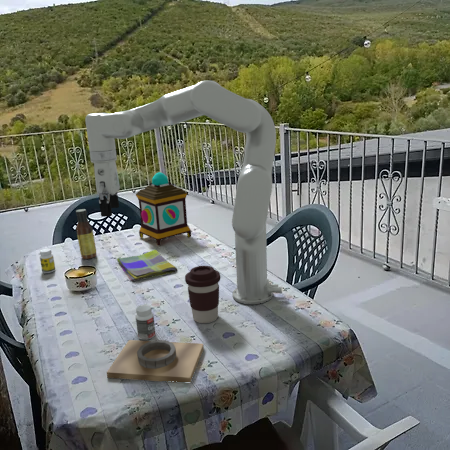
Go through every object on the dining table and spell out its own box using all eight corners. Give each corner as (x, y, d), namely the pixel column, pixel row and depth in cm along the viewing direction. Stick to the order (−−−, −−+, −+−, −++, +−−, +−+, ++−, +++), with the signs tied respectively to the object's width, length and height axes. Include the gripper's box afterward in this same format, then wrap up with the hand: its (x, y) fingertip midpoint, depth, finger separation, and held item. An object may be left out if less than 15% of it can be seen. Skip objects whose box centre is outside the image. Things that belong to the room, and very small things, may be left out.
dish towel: (158, 253, 184) (157, 247, 183) (179, 273, 163) (178, 266, 162) (116, 262, 177) (115, 256, 176) (132, 284, 156) (131, 277, 155)
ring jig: (203, 348, 114) (202, 336, 113) (190, 383, 101) (189, 370, 100) (129, 344, 118) (128, 333, 117) (107, 377, 105) (105, 364, 104)
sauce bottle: (100, 255, 184) (93, 209, 178) (88, 260, 179) (81, 213, 173) (89, 253, 188) (82, 207, 182) (77, 258, 183) (70, 211, 177)
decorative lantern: (172, 228, 216) (167, 166, 207) (196, 237, 201) (191, 171, 192) (135, 238, 204) (127, 173, 196) (157, 248, 189) (150, 178, 180)
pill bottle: (152, 340, 119) (148, 312, 117) (135, 339, 120) (131, 311, 118) (158, 331, 124) (155, 304, 121) (141, 330, 125) (138, 303, 122)
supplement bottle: (39, 272, 170) (35, 251, 167) (48, 267, 174) (45, 247, 171) (49, 273, 168) (45, 252, 166) (58, 269, 172) (54, 248, 170)
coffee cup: (210, 329, 123) (206, 279, 119) (181, 321, 128) (177, 273, 124) (229, 314, 131) (226, 266, 127) (201, 306, 136) (198, 261, 132)
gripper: (109, 159, 124) (116, 219, 129) (122, 151, 141) (128, 204, 146) (82, 161, 124) (90, 220, 129) (98, 152, 141) (105, 205, 146)
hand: (110, 211), depth 137 cm, fingers open, 9 cm apart
